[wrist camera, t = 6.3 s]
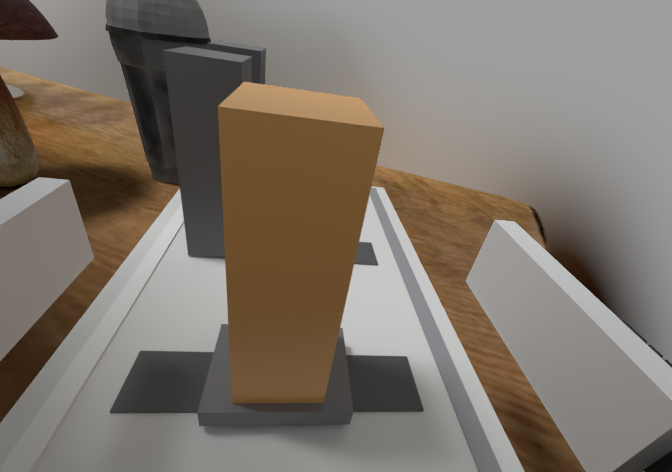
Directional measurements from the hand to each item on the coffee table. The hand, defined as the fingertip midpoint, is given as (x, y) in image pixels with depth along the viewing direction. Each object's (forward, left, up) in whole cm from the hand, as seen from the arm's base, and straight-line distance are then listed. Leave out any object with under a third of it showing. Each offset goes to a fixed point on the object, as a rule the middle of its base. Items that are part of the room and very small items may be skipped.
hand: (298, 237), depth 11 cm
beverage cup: (-11, +22, -8) cm, 26 cm away
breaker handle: (0, -1, -6) cm, 6 cm away
